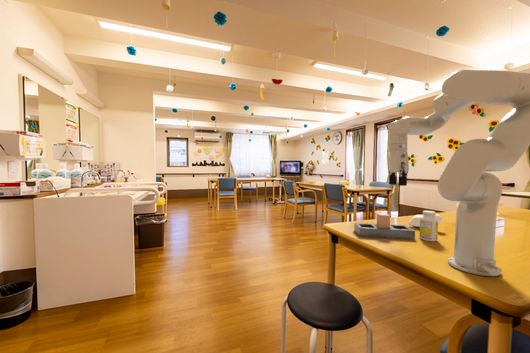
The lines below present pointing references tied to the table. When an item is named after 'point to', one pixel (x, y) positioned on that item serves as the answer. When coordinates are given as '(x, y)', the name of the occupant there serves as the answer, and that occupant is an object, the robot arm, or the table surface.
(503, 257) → the table surface
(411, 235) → the grey compartment tray
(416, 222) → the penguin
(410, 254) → the table surface
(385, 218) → the peg
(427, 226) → the supplement bottle
